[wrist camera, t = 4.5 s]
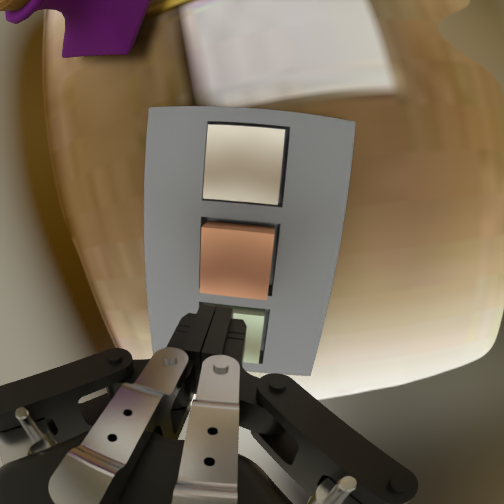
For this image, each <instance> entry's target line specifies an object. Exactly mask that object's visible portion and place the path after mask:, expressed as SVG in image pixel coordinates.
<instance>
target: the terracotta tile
mask: <svg viewBox="0 0 504 504" xmlns="http://www.w3.org/2000/svg"><path fill="white" fill-rule="evenodd" d="M274 236H275V230H274V227H267V226H257V225H246V224H236V223H225V222H214V221H207V222H206V223H205V224H204V225H203V226H202V227H201V257H200V293H206V294H214V295H222V296H231V297H240V298H249V299H259V300H267V296H268V288H269V280H270V271H271V262H272V254H273V245H274Z"/></svg>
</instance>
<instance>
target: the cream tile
mask: <svg viewBox="0 0 504 504" xmlns="http://www.w3.org/2000/svg"><path fill="white" fill-rule="evenodd" d="M284 137H285V130H283V129H273V128H262V127H249V126H234V125H210V124H208V131H207V143H206V156H205V171H204V187H203V198H204V199H217V200H230V201H241V202H252V203H263V204H273V205H278V198H279V189H280V179H281V169H282V158H283V148H284Z"/></svg>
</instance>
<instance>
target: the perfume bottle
mask: <svg viewBox="0 0 504 504" xmlns="http://www.w3.org/2000/svg"><path fill="white" fill-rule="evenodd" d="M150 1H151V0H0V11H5V12H6V20H7V21H9V22H12V23H15V24H18V23H19V22H21V21H23V20H25V19H27V18H29V16H31V15H32V14H33V13H34V12H35V11H37V10H42V9H51V10H57V11H59V12H62V14H63V16H64V18H65V34H64V41H63V50H62V57H63V58H68V57H79V56H93V55H126V54H128V53H129V52H130V50H131V49H132V48H133V46H134V44H135V42H136V39H137V36H138V33H139V31H140V28H141V25H142V23H143V20H144V18H145V15H146V13H147V10H148V7H149V4H150Z"/></svg>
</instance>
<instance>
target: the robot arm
mask: <svg viewBox="0 0 504 504" xmlns="http://www.w3.org/2000/svg"><path fill="white" fill-rule="evenodd" d="M246 330H247V326H246V324H245V322H244V320H242V319H233V308H230V307H222V306H213V305H205V304H201V305H200V307H199V309H198V311H197V313H196V314H194V313H188V314H186V315H185V316H183V317H182V318H181V320H180V321H179V323H178V326H177V327H176V329H175V331H174V333H173V335H172V337H171V339H170V341H169V343H168V345H167V347H166V348H163V349H160V350H158V351H156V352H155V353H154V355H153V356H152V358H151V359H145V360H133V359H132V355H131V354H130V353H129V352H128V351H127V350H125V349H121V348H112V349H108V350H105V351H102V352H100V353H97V354H94V355H91V356H89V357H86V358H83V359H80V360H77V361H75V362H72V363H69V364H66V365H63V366H60V367H57V368H54V369H51V370H48V371H45V372H42V373H39V374H36V375H33V376H30V377H27V378H24V379H21V380H18V381H15V382H12V383H8V384H5V385H2V386H0V456H1V460H2V463H3V466H2V467H1V468H0V504H293V503H292V502H291V501H290V500H289V499H288V498H287V497H286V496H285V495H284V494H283V492H282V491H281V490H280V489H279V488H278V487H277V486H276V485H275V484H274V482H273V481H272V480H271V479H270V478H269V477H268V475H267V474H266V473H265V472H264V471H263V470H262V469H261V468H260V467H259V466H258V465H257V464H256V463H254V462H253V461H251V460H250V459H248V458H246V457H244V456H242V455H240V454H238V432H239V426H241V427H243V428H246V429H249V430H251V434H252V435H253V437H254V438H255V439H256V440H257V442H258V443H259V444H260V445H261V446H262V447H263V448H264V449H265V450H266V451H267V453H269V455H270V456H271V457H272V458H273V459H274V460H275V461H276V462H277V463H278V464H279V465H280V466H281V467H282V468H283V469H284V470H285V471H286V472H287V473H288V474H289V475H290V476H291V477H292V478H293V479H294V480H295V481H296V482H297V483H298V484H299V485H300V486H301V487H302V488H303V489H304V490H305V491H306V492H307V493H308V494H309V495H311V498H310V499H309V501H308V504H406V503H407V502H409V501H410V500H411V499H412V498H413V497H414V496H415V494H416V493H417V490H418V480H417V478H416V476H415V475H414V474H413V473H412V472H411V471H410V470H408V469H407V468H405V467H404V466H403V465H401V464H400V463H398V462H397V461H395V460H394V459H393V458H391V457H390V456H388V455H387V454H385V453H384V452H383V451H382V450H380V449H379V448H378V447H376V446H375V445H373V444H372V443H371V442H369V441H368V440H367V439H365V438H364V437H363V436H362V435H360V434H359V433H358V432H356V431H355V430H354V429H352V428H351V427H350V426H349V425H347V424H346V423H345V422H344V421H342V420H341V419H340V418H338V417H337V416H336V415H335V414H333V413H332V412H331V411H330V410H328V409H327V408H326V407H325V406H323V405H322V404H321V403H320V402H319V401H318V400H316V399H315V398H314V397H313V396H312V395H310V394H309V393H308V392H307V391H306V390H304V389H303V388H302V387H301V386H300V385H299V384H297V383H296V382H295V381H294V380H293V379H291V378H290V377H288V376H286V375H283V374H278V373H271V374H267V375H265V376H263V377H261V378H257V377H255V376H252V375H250V374H249V373H247V372H246V371H245V370H244V368H243V367H242V365H243V359H244V351H245V340H246ZM105 387H106V389H107V392H108V393H106V394H104V395H101V396H99V397H96V398H94V399H92V400H89V401H86V402H84V403H80V404H79V403H78V401H79V399H80V398H81V397H83V396H85V395H88V394H91V393H93V392H96V391H98V390H100V389H103V388H105ZM194 394H197V395H196V399H195V400H193V401H192V398H193V395H194ZM191 401H192V405H191ZM190 409H191V410H190ZM189 412H190V415H189V420H188V426H187V431H186V437H185V440H178V438H179V435H180V433H181V431H182V428H183V426H184V424H185V421H186V419H187V416H188V414H189Z"/></svg>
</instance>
